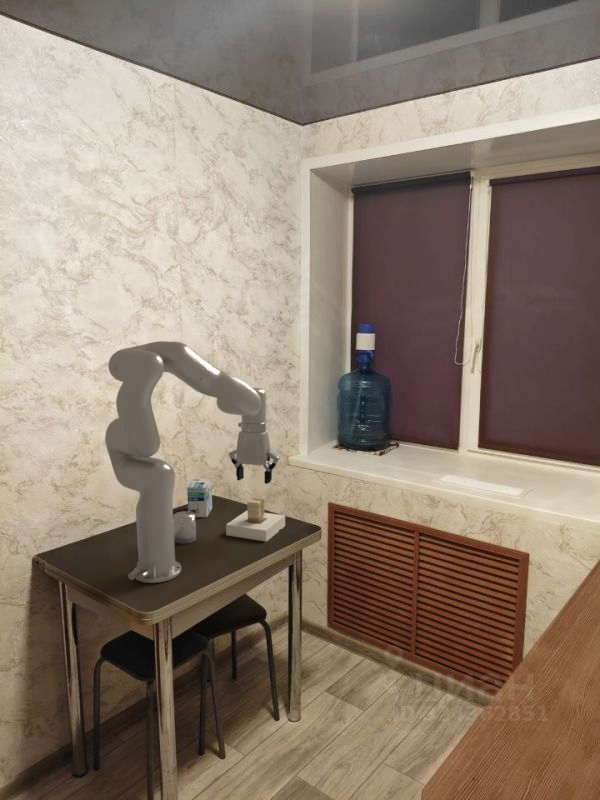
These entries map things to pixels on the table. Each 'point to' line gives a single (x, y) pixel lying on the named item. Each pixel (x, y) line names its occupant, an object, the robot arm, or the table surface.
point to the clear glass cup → (184, 527)
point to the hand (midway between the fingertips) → (253, 481)
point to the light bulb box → (200, 497)
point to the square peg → (256, 511)
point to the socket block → (255, 527)
